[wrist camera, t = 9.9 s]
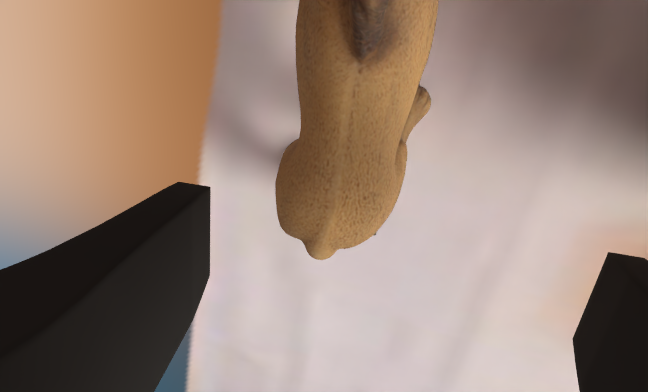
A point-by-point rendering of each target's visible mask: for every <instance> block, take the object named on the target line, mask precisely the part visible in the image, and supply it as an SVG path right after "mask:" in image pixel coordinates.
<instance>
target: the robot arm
mask: <svg viewBox="0 0 648 392" xmlns="http://www.w3.org/2000/svg"><path fill="white" fill-rule="evenodd" d="M209 276H210V187H207V186H201V185H195V184H189V183H183V182H177V183H175V184H173V185H171V186H169V187H167V188H165V189H163V190H162V191H160V192H158V193H156V194H154V195H152V196H151V197H149V198H147V199H146V200H144V201H142V202H140V203H139V204H137V205H135V206H133V207H131V208H129V209H128V210H126V211H124V212H122V213H121V214H119V215H117V216H115V217H113V218H111V219H109V220H108V221H106V222H104V223H102V224H100V225H99V226H97V227H95V228H92V229H91V230H88V231H86V232H84V233H82V234H81V235H78V236H76V237H74V238H72V239H70V240H68V241H66V242H64V243H62V244H60V245H58V246H56V247H54V248H52V249H50V250H48V251H45V252H43V253H41V254H39V255H36V256H34V257H31V258H29V259H27V260H24V261H22V262H20V263H17V264H14V265H12V266H9V267H7V268H4V269H1V270H0V392H154V391H155V389H156V387H157V385H158V383H159V382H160V380H161V378H162V376H163V374H164V373H165V371H166V369H167V367H168V365H169V363H170V361H171V360H172V358H173V356H174V354H175V352H176V351H177V349H178V347H179V345H180V343H181V341H182V339H183V338H184V336H185V334H186V332H187V330H188V328H189V326H190V324H191V322H192V321H193V318H194V316H195V313H196V311H197V308H198V306H199V303H200V300H201V298H202V295H203V292H204V290H205V287H206V284H207V281H208V279H209ZM573 346H574V354H575V363H576V370H577V377H578V383H579V390H580V392H648V260H646V259H645V258H641V257H634V256H628V255H622V254H616V253H610V252H608V254H607V257H606V259H605V262H604V264H603V267H602V269H601V271H600V274H599V276H598V279H597V281H596V284H595V286H594V288H593V291H592V293H591V296H590V298H589V301H588V303H587V305H586V308H585V310H584V313H583V315H582V317H581V320H580V322H579V325H578V327H577V330H576V332H575V334H574V337H573Z"/></svg>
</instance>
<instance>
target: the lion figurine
mask: <svg viewBox="0 0 648 392" xmlns="http://www.w3.org/2000/svg"><path fill="white" fill-rule="evenodd" d="M437 9H438V0H300V2H299V9H298V16H297V22H296V68H297V80H298V92H299V101H300V110H301V131H300V137H299V139H297V140H295V141H294V142H292V143H291V144H290V145H289V146H288V147H287V148H286V150H285V151H284V153H283V155H282V158H281V162H280V166H279V170H278V174H277V178H276V184H275V185H276V205H277V214H278V219H279V223H280V226H281V228H282V229H283V230H284V231H285V233H287V234H288V235H290V236H292V237H294V238H297V239H300V240H301V241H302V242H303V243H304V245H305V247H306V250H307V252H308V253H309V255H310V256H311V257H313V258H315V259H318V260H323V259H327V258H329V257H331V256H332V255H333V254H334V253H335V252H336V251H337V250H338V249H346V248H350V247H354V246H356V245H358V244H360V243H362V242H364V241H365V240H367V239H369V238H370V237H371V236H373V235H376V231H377V230H378V229H379V228H380V227H381V226H382V224H383V223H384V222H385V220H386V219H387V218H388V216H389V215H390V213H391V211H392V210H393V208H394V205H395V203H396V201H397V199H398V196H399V193H400V190H401V186H402V182H403V179H404V175H405V168H406V161H407V147H406V144H405V143H406V141H407V138H408V136H409V134H410V132H411V130H412V129H413V127H414V126H415V125H416V124H417V123H418V122H419V121H420V120H421V119H422V118H423V117H424V115H425V114H426V113H427V112H428V110H429V108H430V105H431V98H430V96H429V94H428V92H427V90H426V89H425V88H423V87H420V86H418V85H419V82H420V79H421V76H422V73H423V71H424V68H425V65H426V63H427V60H428V56H429V53H430V49H431V45H432V40H433V36H434V30H435V24H436V17H437Z"/></svg>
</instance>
